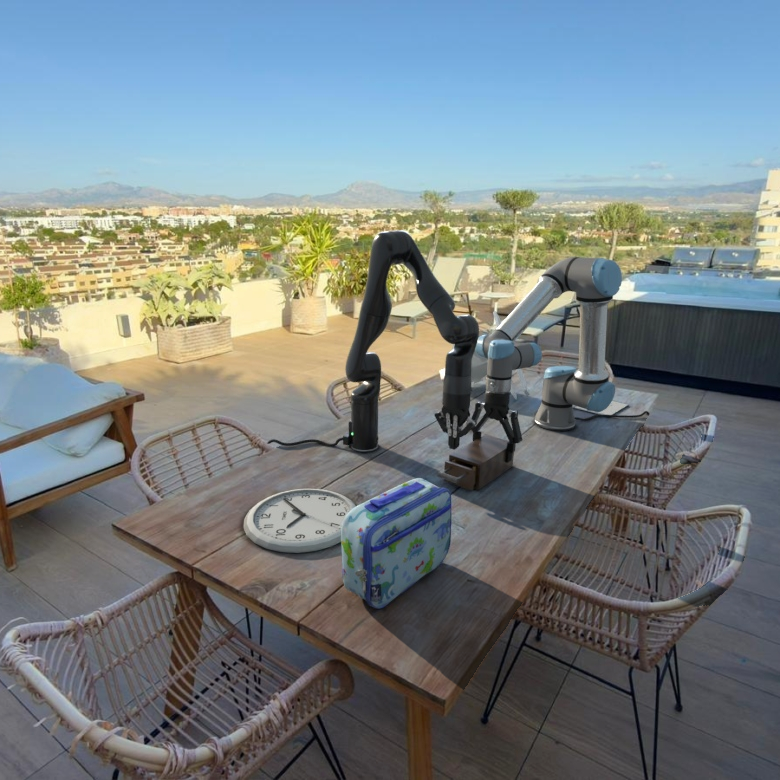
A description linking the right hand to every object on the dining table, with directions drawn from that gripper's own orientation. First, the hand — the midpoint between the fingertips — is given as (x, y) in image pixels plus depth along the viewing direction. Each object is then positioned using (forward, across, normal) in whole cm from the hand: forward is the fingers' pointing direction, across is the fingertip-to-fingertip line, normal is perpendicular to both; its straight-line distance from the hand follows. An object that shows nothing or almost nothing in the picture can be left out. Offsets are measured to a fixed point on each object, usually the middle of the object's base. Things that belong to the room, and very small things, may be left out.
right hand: (492, 456), depth 167 cm
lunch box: (+3, +13, -64) cm, 66 cm away
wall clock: (+3, -21, -61) cm, 65 cm away
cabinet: (+3, 0, -7) cm, 7 cm away
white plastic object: (+3, -43, +66) cm, 79 cm away
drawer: (+2, 0, -13) cm, 14 cm away
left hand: (-11, 0, -24) cm, 26 cm away
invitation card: (+3, +7, +84) cm, 84 cm away
